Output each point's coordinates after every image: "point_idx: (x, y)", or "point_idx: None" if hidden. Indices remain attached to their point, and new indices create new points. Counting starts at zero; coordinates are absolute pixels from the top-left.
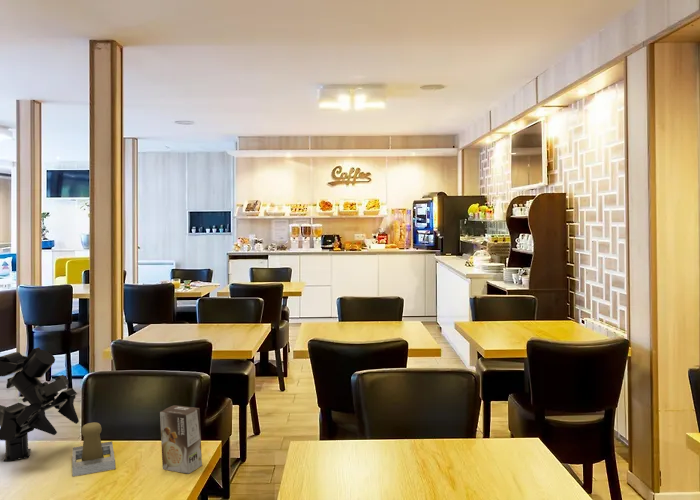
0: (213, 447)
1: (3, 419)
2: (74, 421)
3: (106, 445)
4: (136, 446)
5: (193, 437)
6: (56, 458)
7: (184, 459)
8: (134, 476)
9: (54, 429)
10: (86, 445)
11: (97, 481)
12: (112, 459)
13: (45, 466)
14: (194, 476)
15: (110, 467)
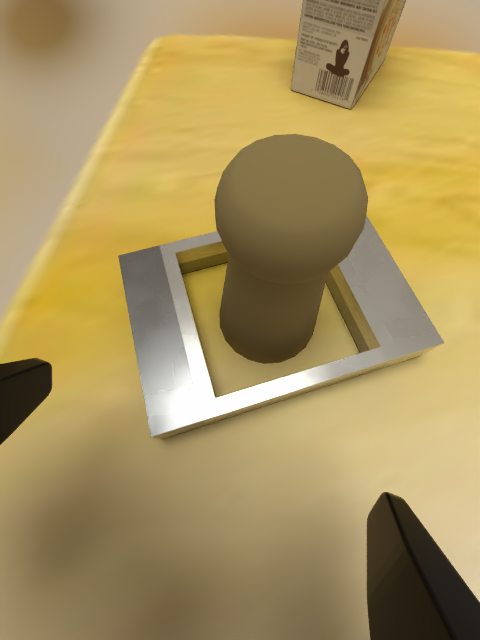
0: (205, 36)
1: None
2: (25, 407)
3: (168, 266)
4: (128, 202)
5: None
6: (178, 530)
7: (398, 16)
8: (404, 161)
9: (419, 532)
10: (324, 283)
11: (453, 252)
12: None
13: (292, 557)
14: (396, 52)
15: None
